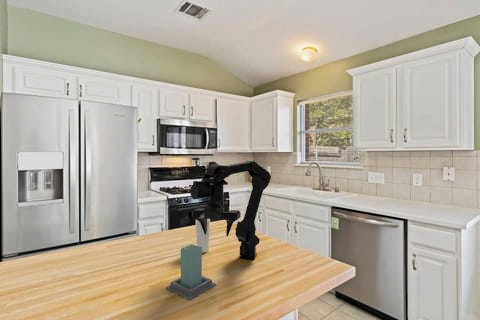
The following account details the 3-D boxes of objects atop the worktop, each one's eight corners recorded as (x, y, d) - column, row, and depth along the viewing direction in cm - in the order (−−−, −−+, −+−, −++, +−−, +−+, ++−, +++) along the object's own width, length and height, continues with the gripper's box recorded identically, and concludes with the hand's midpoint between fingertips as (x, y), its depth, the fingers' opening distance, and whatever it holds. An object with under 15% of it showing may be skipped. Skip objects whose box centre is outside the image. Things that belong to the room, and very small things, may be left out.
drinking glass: (207, 254, 122) (207, 221, 121) (193, 253, 123) (193, 220, 123) (212, 249, 128) (212, 217, 128) (198, 248, 130) (198, 217, 129)
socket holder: (192, 275, 101) (192, 270, 101) (216, 285, 94) (216, 279, 93) (166, 288, 91) (166, 282, 91) (190, 300, 84) (190, 294, 84)
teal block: (191, 280, 96) (191, 244, 95) (201, 284, 93) (201, 247, 92) (180, 286, 92) (180, 248, 92) (190, 290, 89) (190, 251, 88)
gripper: (185, 198, 102) (185, 239, 102) (233, 201, 97) (233, 244, 98) (197, 194, 113) (197, 231, 113) (240, 196, 108) (240, 234, 108)
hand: (216, 235), depth 108 cm, fingers open, 9 cm apart
